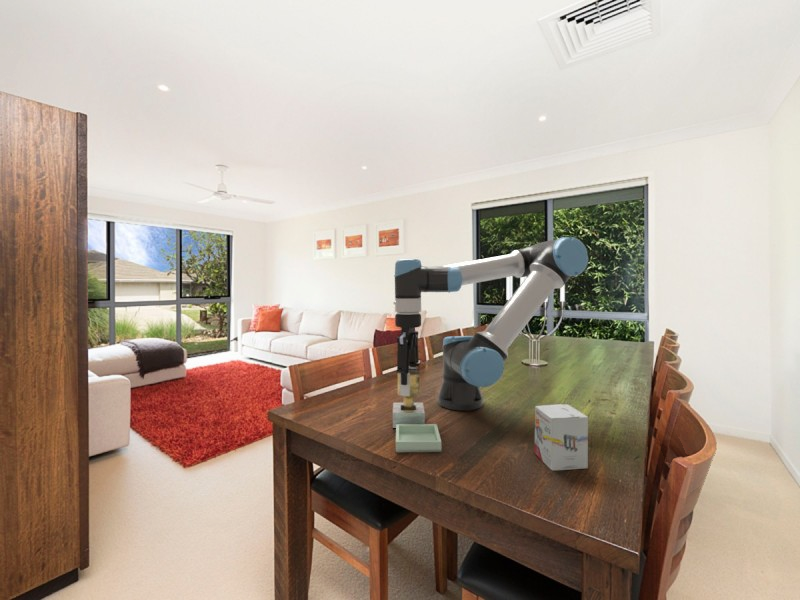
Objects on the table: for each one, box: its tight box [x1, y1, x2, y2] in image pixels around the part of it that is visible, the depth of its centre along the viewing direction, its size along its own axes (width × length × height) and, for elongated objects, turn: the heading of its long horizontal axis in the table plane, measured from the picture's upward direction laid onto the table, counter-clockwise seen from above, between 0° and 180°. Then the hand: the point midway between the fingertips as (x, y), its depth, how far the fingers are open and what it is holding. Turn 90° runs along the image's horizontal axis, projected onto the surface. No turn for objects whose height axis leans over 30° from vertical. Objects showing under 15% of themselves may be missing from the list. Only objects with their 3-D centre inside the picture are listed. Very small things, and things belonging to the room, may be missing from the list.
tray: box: [395, 423, 442, 453], centre depth 92 cm, size 11×11×2 cm
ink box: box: [534, 403, 589, 472], centre depth 82 cm, size 9×9×12 cm
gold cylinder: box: [397, 368, 421, 410], centre depth 104 cm, size 6×6×13 cm
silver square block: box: [392, 402, 426, 429], centre depth 105 cm, size 9×9×4 cm
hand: (408, 391), depth 104 cm, fingers closed on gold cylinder, 6 cm apart
